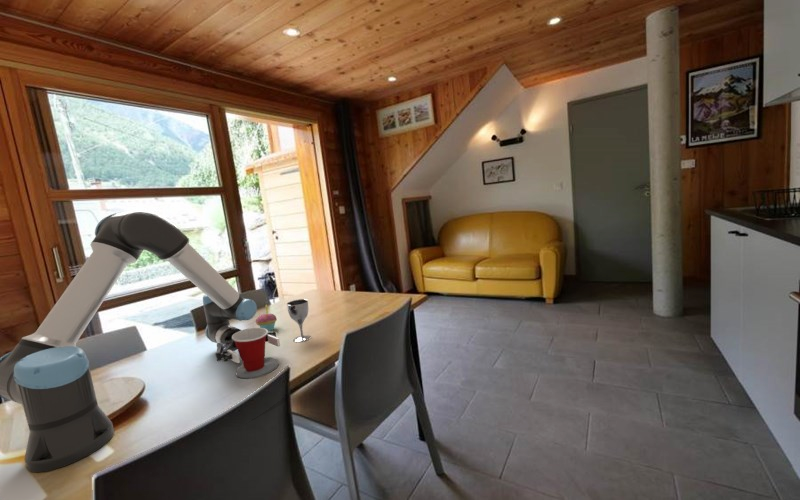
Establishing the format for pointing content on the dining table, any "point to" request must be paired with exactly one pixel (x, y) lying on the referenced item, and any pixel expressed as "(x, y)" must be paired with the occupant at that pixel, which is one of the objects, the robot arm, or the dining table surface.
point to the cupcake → (266, 320)
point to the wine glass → (299, 315)
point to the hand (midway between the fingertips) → (259, 350)
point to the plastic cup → (251, 347)
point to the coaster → (268, 367)
